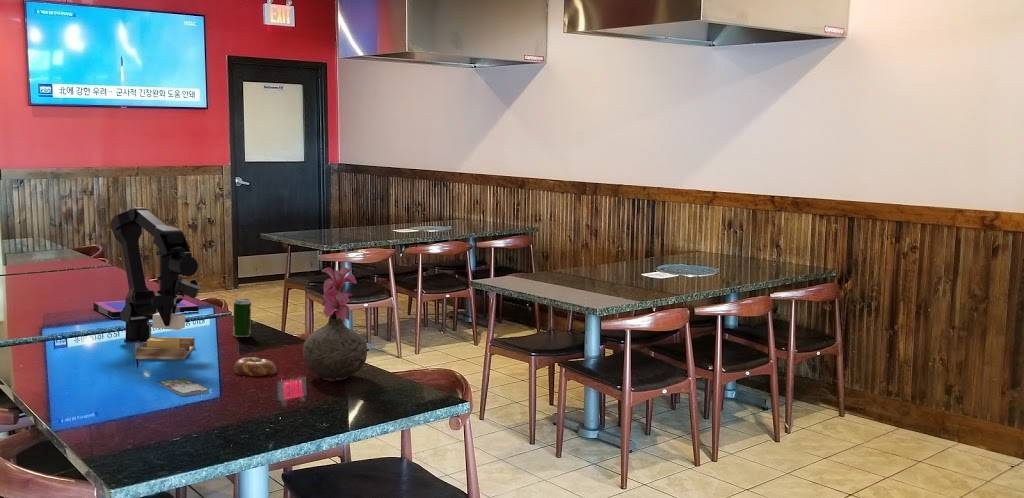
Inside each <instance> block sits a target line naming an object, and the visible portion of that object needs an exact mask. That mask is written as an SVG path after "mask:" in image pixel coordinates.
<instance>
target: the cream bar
mask: <svg viewBox="0 0 1024 498" xmlns="http://www.w3.org/2000/svg"><path fill="white" fill-rule="evenodd" d="M185 328H186V314H175V313H172V314H171V319H170V324H169V326H165V325H164V323H163V321H162V318H161V316H160V314H159V313H156V314H153V320H152V329H159V330H160V329H161V330H173V331H174V330H175V331H180V330H182V329H185Z"/></svg>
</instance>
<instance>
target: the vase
mask: <svg viewBox="0 0 1024 498" xmlns="http://www.w3.org/2000/svg"><path fill="white" fill-rule="evenodd" d="M352 270H353V267H350V268H348V267H347V266H346V267H345V266H342V267H341V268H340V269H339V270H337V269H335V270H333V269H332V267H331V266H330V267H325V268H324V269H322V270H321V272H323V273H325V274H327V275H329V276H330V278H327V279H325V281H324V283H323V296H322V298H323V300H322V304H321V306H323V307H324V308H323V309H322V312H323V314H324V316H325V317H326V318H328V321H327V323H326V324H325V325H324V326H321V327H320V328H318V329H316V330H315V331H313V332H311V334H309V336H308V337H306V339H305V341H304V342H303V345H302V356H303V357H302V358H303V361H304V364H305V366H306V368H307V369H308V370H309V371H311V372H312V373H314V374H315V375H318V376H320V378H321V377H323V378H331V379H336V378H345V377H347V378H349V377H350V376H352V375H355V374H356V373H357V372H359V371H360V370H361V369H362V368H363V367H364V365H365V364H366V362H367V357H368V346H367V345H368V344H367V342H366V341H365V339H364V338H363V337H362V336H361V334H359V333H358V332H356V331H355V330H353V329H351V328H349V327H348V326H346V325H345V324H344V323H346V322H345V320H347V321H348V322H350V307H349V306H348V303H349V302H350V300H351V299H350V298H349V297H351V296H353V294H352V293H350V292H346V291H342V292H341V290H342V287H343V286H344V284H345V283H351V284H356V285H357V280H356V277H355V276H354V274H352V273H350V272H351V271H352Z"/></svg>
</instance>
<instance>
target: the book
mask: <svg viewBox="0 0 1024 498" xmlns="http://www.w3.org/2000/svg"><path fill="white" fill-rule="evenodd" d="M125 305H126V303H125V300H115V301H113V300H112V301H99V302H98V301H97V302H93V310H94V309H96V310H98V311H100V312H103V313H105V314H107V315H109V316H111V317H120V313H121V311H122V310H123V308H124V306H125ZM199 309H200V308H199V305H197V304H195V303H192V302H190V301H187V300H185V299H183V300H182V301H181V302H180V303H179V304H178V305H177V309H176V312H184V311H198V312H199ZM96 310H95V311H96ZM98 311H97V312H98ZM156 313H159V312H158V310H157V309H156Z"/></svg>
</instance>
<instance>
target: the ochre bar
mask: <svg viewBox="0 0 1024 498" xmlns="http://www.w3.org/2000/svg"><path fill="white" fill-rule="evenodd" d="M146 342H147V348H180V338H150V339H148V340H147V341H146Z"/></svg>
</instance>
